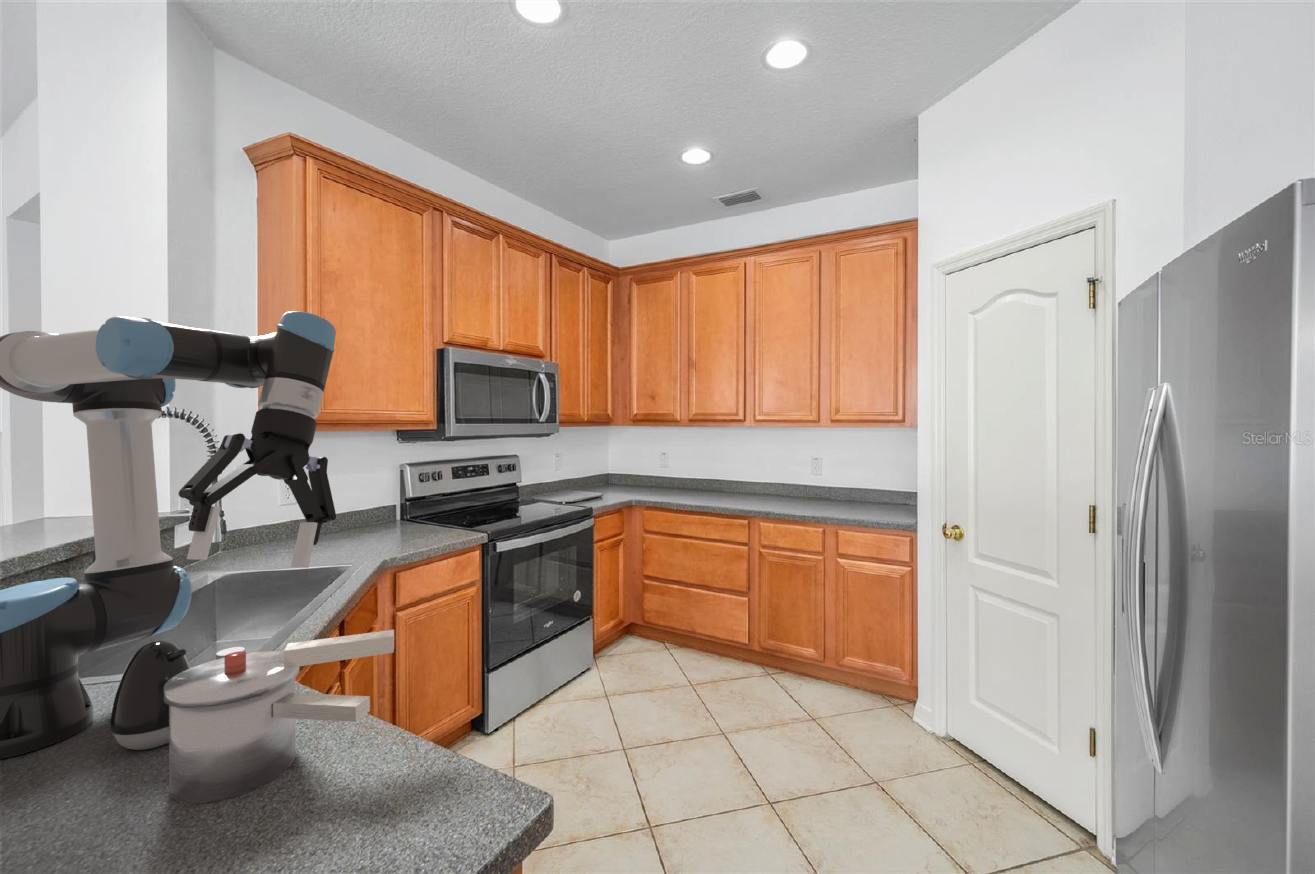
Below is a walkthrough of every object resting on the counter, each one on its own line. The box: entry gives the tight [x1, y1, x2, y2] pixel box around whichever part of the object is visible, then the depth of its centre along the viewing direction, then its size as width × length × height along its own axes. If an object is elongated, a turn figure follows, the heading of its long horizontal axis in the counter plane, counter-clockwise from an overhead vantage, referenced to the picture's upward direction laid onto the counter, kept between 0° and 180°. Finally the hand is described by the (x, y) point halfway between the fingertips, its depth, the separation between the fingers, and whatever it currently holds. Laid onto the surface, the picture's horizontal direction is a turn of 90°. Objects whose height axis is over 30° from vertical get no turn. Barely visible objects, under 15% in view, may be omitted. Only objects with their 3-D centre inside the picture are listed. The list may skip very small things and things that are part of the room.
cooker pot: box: [168, 677, 371, 805], centre depth 77 cm, size 26×14×12 cm, turn 84°
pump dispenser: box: [109, 640, 191, 751], centre depth 86 cm, size 10×10×15 cm
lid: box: [164, 629, 395, 708], centre depth 80 cm, size 28×15×4 cm, turn 114°
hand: (252, 564), depth 75 cm, fingers open, 13 cm apart
